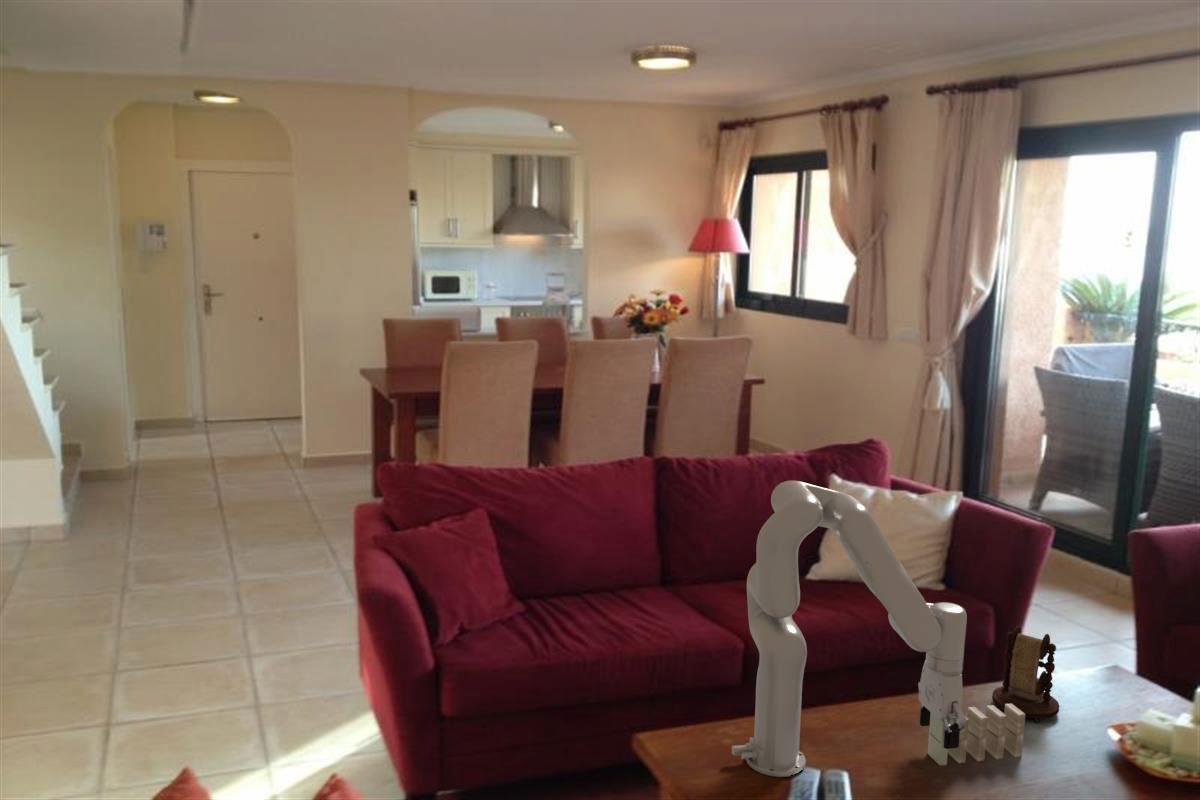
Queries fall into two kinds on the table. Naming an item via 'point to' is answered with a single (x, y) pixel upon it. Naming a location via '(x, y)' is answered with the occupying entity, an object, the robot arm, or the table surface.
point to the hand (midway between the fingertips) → (938, 736)
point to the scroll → (1027, 676)
